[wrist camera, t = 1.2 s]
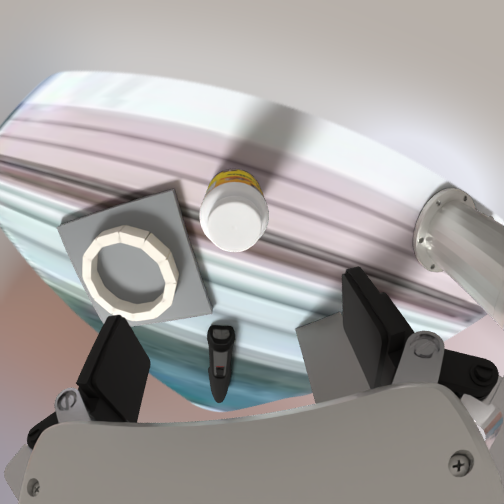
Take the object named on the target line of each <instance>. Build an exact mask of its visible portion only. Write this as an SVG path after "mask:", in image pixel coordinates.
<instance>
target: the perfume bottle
mask: <svg viewBox="0 0 504 504" xmlns="http://www.w3.org/2000/svg"><path fill="white" fill-rule="evenodd" d="M295 330H296V334H297V337H298V341H299V344H300V348H301V352H302V355H303V359H304V362H305V366H306V370H307V373H308V377H309V381H310V384H311V388H312V392H313V396H314V399H315V403H321V402H325V401H329V400H333V399H337V398H341V397H345V396H349V395H352V394H356V393H359V392H363V391H367V390H371V389H370V387H369V384H368V382H367V380H366V377H365V375H364V373H363V371H362V368H361V366H360V364H359V362H358V359H357V357H356V355H355V353H354V350H353V348H352V346H351V344H350V342H349V340H348V337H347V335H346V333H345V331H344V327H343V316H342V314H341V312H338V313H336V314H333V315H331V316H328V317H326V318H323V319H320V320H318V321H315V322H313V323H310V324H307V325H305V326H302V327H299V328H297V329H295Z"/></svg>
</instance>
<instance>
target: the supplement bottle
mask: <svg viewBox="0 0 504 504" xmlns="http://www.w3.org/2000/svg"><path fill="white" fill-rule="evenodd" d="M268 220H269V211H268V206H267V203H266V200H265V198H264V196H263V193H262V191H261V188H260V186H259V184H258V182H257V180H256V179H255V178H254V177H253V176H252V175H251V174H250V173H248V172H246V171H244V170H241V169H228V170H224V171H222V172H220V173H219V174H217V175H216V176H215V177H214V178H213V179H212V181H211V182H210V184H209V186H208V189H207V191H206V194H205V197H204V199H203V202H202V204H201V208H200V223H201V226H202V229H203V231H204V233H205V234H206V236H207V237H208V238H209V239H210V240H211V241H212V242H213V243H214V244H215V245H216V246H217V247H219V248H220V249H222V250H225V251H228V252H240V251H244V250H247V249H248V248H250V247H251V246H253V245H254V244H255V243H256V242H257V240H258V239H259V238H260V237H261V236H262V235H263V233H264V232H265V230H266V228H267V225H268Z"/></svg>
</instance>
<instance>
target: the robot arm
mask: <svg viewBox="0 0 504 504" xmlns="http://www.w3.org/2000/svg"><path fill="white" fill-rule="evenodd" d="M413 247H414V252H415V256H416V258H417V260H418V262H419V263H420V264H421V265H422V266H423V267H424V268H425V269H427V270H429V271H431V272H442V271H445V272H446V273H447V274H448V275H449V276H450V277H451V278H452V279H453V280H454V281H455V282H456V283H458V284H459V285H460V286H461V287H462V288H463V289H464V290H465V291H466V292H467V293H468V294H469V295H470V296H471V297H472V298H473V299H474V300H475V301H476V302H477V303H478V304H479V305H480V306H481V307H482V308H483V309H484V310H485V311H486V312H487V313H488V315H489V316H490V317H491V318H492V319H494V321H495V322H496V323H497V324H498V325H499V326H500V327H501V328H502V329H503V330H504V226H503V225H502V224H500V223H498V222H497V221H495V220H494V218H493V217H492V216H489V217H488V216H486V215H485V214H483V213H481V212H479V211H477V210H476V208H475V204H474V202H473V200H472V198H471V197H470V196H469V195H468V194H467V193H466V192H464V191H462V190H460V189H457V188H447V189H444V190H442V191H440V192H438V193H437V194H435V195H434V196H433V197H432V198H431V199H430V200H429V201H428V202H427V204H426V205H425V207H424V208H423V210H422V212H421V213H420V215H419V218H418V220H417V223H416V226H415V231H414V238H413ZM342 298H343V327H344V331H345V333H346V335H347V337H348V340H349V342H350V344H351V346H352V348H353V350H354V353H355V355H356V357H357V359H358V362H359V364H360V366H361V368H362V371H363V373H364V375H365V377H366V380H367V382H368V384H369V387H370V389H371V390H367V391H363V392H359V393H356V394H352V395H349V396H345V397H341V398H337V399H333V400H329V401H325V402H321V403H316V404H312V405H308V406H303V407H299V408H294V409H289V410H283V411H278V412H273V413H266V414H260V415H253V416H246V417H238V418H230V419H221V420H209V421H197V422H196V421H195V422H174V423H137V419H138V415H139V411H140V406H141V402H142V397H143V393H144V389H145V385H146V381H147V377H148V373H149V369H150V359H149V357H148V356H147V354H146V352H145V351H144V349H143V347H142V346H141V344H140V342H139V341H138V339H137V337H136V336H135V334H134V332H133V330H132V329H131V327H130V325H129V323H128V322H127V320H126V318H125V317H122V316H121V315H112V316H108V317H107V319H106V321H105V323H104V325H103V327H102V329H101V331H100V333H99V335H98V337H97V339H96V341H95V343H94V345H93V347H92V349H91V351H90V353H89V355H88V358H87V360H86V362H85V364H84V366H83V369H82V371H81V373H80V375H79V378H78V380H77V382H76V384H77V385H78V386H79V388H78V390H77V389H75V388H67V389H65V390H63V391H62V392H61V393H60V394H59V395H58V396H57V398H56V400H55V405H54V406H55V412H54V413H53V414H51V415H50V416H48V417H47V418H45V419H44V420H43V421H41V422H40V423H38V424H37V425H35V426H34V427H33V428H32V429H31V430H30V431H29V434H28V437H27V444H28V446H27V445H26V444H24V445H23V447H22V448H21V449H20V450H19V451H18V453H17V454H16V455H15V456H14V457H13V459H12V460H11V461H10V462H9V463H8V465H7V466H6V468H5V471H4V476H5V479H6V481H7V483H8V485H9V486H10V488H11V490H12V491H13V493H14V495H15V496H16V498H17V499H18V501H19V503H18V504H504V377H501V376H499V373H498V370H497V367H496V366H495V365H494V364H493V363H492V362H491V361H489V360H487V359H484V358H480V357H475V356H471V355H467V354H463V353H459V352H455V351H451V350H447V349H444V342H443V340H442V339H441V338H440V336H438V335H437V334H435V333H433V332H430V331H419V332H416V333H415V332H414V331H413V330H412V328H411V327H410V325H409V324H408V323H407V321H406V320H405V318H404V317H403V316H402V314H401V313H400V311H399V310H398V309H397V307H396V306H395V305H394V303H393V302H392V301H391V299H390V298H389V297H388V295H387V294H386V293H384V292H383V293H380V292H379V291H378V290H377V288H376V287H375V286H374V284H373V283H372V282H371V280H370V279H369V278H368V276H367V275H366V274H365V272H364V271H363V270H362V269H361V267H354V268H350V269H347V270H346V273H345V274H342ZM473 419H474V420H475V421H476V422H474V420H473ZM476 424H477V425H478V426H480V427H481V428H482V429H483V430H484V432H485V435H486V440H485V441H484V439H483V437H482V435H481V433H480V431H479V429H478V427H477V425H476Z"/></svg>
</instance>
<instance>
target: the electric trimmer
mask: <svg viewBox="0 0 504 504" xmlns="http://www.w3.org/2000/svg"><path fill="white" fill-rule="evenodd" d="M207 340H208V344H209V357H210V367H209V368H208V373H209V380H210V386H211V391H212V395H213V397H214V399H215V401H216V402H217V403H221V402H223V400H224V398H225V396H226V394H227V390H228V386H229V381H230V377H231V368H230V364H231V356H232V349H233V344H234V340H235V333H234V330H233V328H232V327H231V326H218V325H212V326H210V328H209V330H208V333H207Z"/></svg>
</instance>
